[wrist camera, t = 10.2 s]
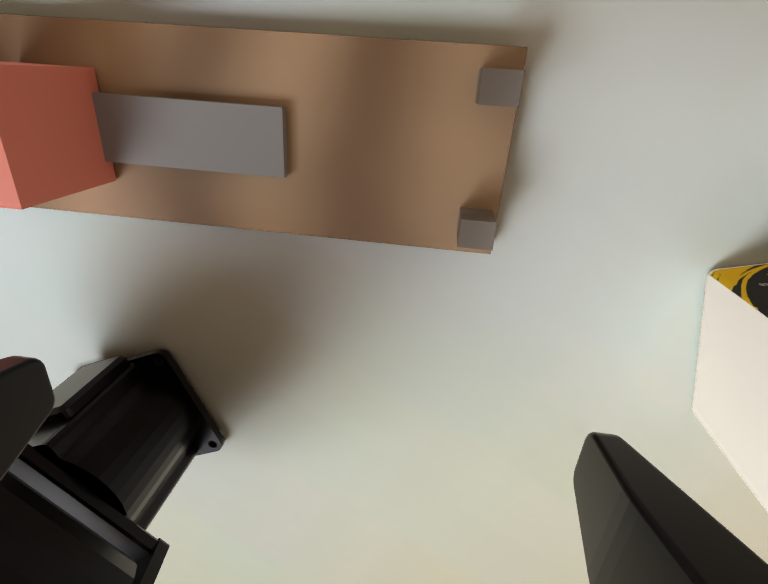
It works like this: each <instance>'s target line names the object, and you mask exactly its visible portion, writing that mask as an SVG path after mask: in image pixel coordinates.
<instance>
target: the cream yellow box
mask: <svg viewBox="0 0 768 584" xmlns="http://www.w3.org/2000/svg"><path fill="white" fill-rule="evenodd" d="M692 410H693V413H694V415H695V416H696V417H697V419H698V420H699V421H700V423H701V424H702V426H703V427H704V428H705V430H706V431H707V432H708V434H709V435H710V436H711V438H712V439H713V440H714V442H715V443H716V444H717V446H718V447H719V448H720V450H721V451H722V452H723V454H724V455H725V456H726V458H727V459H728V460H729V462H730V463H731V464H732V466H733V467H734V468H735V470H736V471H737V472H738V474H739V475H740V476H741V478H742V479H743V480H744V482H745V483H746V484H747V486H748V487H749V488H750V490H751V491H752V492H753V494H754V495H755V496H756V498H757V499H758V500H759V502H760V503H761V504H762V506H763V507H764V508H765V510H766V511H767V512H768V263H763V264H754V265H746V266H737V267H728V268H720V269H715V270H712V271H711V272H709V273H708V275H707V277H706V285H705V294H704V303H703V312H702V321H701V330H700V339H699V348H698V357H697V365H696V374H695V383H694V392H693V401H692Z"/></svg>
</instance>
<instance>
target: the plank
mask: <svg viewBox="0 0 768 584" xmlns="http://www.w3.org/2000/svg"><path fill="white" fill-rule="evenodd" d="M526 53H527V47H515V46H499V45H484V44H468V43H452V42H437V41H421V40H406V39H390V38H374V37H359V36H343V35H327V34H312V33H296V32H280V31H265V30H249V29H233V28H218V27H202V26H187V25H171V24H155V23H140V22H124V21H108V20H93V19H77V18H61V17H46V16H30V15H15V14H0V61H4V62H23V63H37V64H50V65H64V66H77V67H91V68H94V69H95V74H96V79H97V84H98V89H99V92H102V93H115V94H128V95H141V96H154V97H166V98H179V99H192V100H205V101H218V102H230V103H243V104H256V105H269V106H282V107H286V132H287V165H288V176H287V177H285V178H280V177H269V176H258V175H247V174H236V173H225V172H214V171H203V170H192V169H181V168H170V167H159V166H149V165H138V164H127V163H116V162H113V166H114V171H115V176H116V181H114V182H110V183H107V184H104V185H100V186H97V187H94V188H91V189H87V190H84V191H81V192H78V193H74V194H71V195H68V196H64V197H61V198H58V199H55V200H51V201H48V202H45V203H42V204H38V205H35V206H32V207H35V208H45V209H54V210H64V211H74V212H84V213H94V214H103V215H113V216H123V217H133V218H143V219H152V220H162V221H172V222H182V223H192V224H201V225H211V226H221V227H231V228H241V229H250V230H260V231H270V232H280V233H290V234H299V235H309V236H319V237H329V238H339V239H348V240H358V241H368V242H378V243H388V244H398V245H407V246H417V247H427V248H437V249H447V250H456V251H466V252H476V253H486V254H491V251H492V249H493V244H494V238H495V233H496V227H497V221H496V220H497V215H498V209H499V203H500V198H501V192H502V187H503V181H504V176H505V170H506V164H507V159H508V153H509V148H510V142H511V137H512V131H513V125H514V120H515V114H516V109H517V107H518V106H519V100H520V94H521V89H522V83H523V78H524V72H525V70H524V64H525V59H526Z"/></svg>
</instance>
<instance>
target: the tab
mask: <svg viewBox="0 0 768 584" xmlns="http://www.w3.org/2000/svg"><path fill="white" fill-rule="evenodd" d="M113 162H116V163H127V164H138V165H149V166H159V167H170V168H181V169H192V170H203V171H214V172H225V173H236V174H247V175H258V176H269V177H280V178H285V177H287V176H288V165H287V132H286V107H282V106H269V105H256V104H243V103H230V102H218V101H205V100H192V99H179V98H166V97H154V96H141V95H128V94H115V93H102V92H99V89H98V84H97V79H96V74H95V69H94V68H91V67H77V66H64V65H50V64H37V63H23V62H4V61H0V207H2V208H12V209H25V208H29V207H32V206H35V205H38V204H42V203H45V202H48V201H51V200H55V199H58V198H61V197H64V196H68V195H71V194H74V193H78V192H81V191H84V190H87V189H91V188H94V187H97V186H100V185H104V184H107V183H110V182H114V181H116V176H115V171H114V166H113Z"/></svg>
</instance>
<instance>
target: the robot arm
mask: <svg viewBox="0 0 768 584" xmlns="http://www.w3.org/2000/svg"><path fill="white" fill-rule="evenodd" d="M159 358H160V359H162V360H163V361H161V360H160V359H159ZM224 442H225V439H224V437H223V435H222V434H221V432H220V431H219V429H218V428H217V426H216V424H215V423H214V421H213V420H212V418H211V417H210V415H209V414H208V412H207V410H206V409H205V407H204V406H203V404H202V403H201V401H200V399H199V398H198V396H197V395H196V393H195V392H194V390H193V388H192V387H191V385H190V384H189V382H188V381H187V379H186V377H185V376H184V374H183V373H182V371H181V370H180V368H179V366H178V365H177V363H176V362H175V360H174V359H173V357H172V355H171V354H170V353H169V352H168V351H166V350H164V349H157V350H153V351H150V352H146V353H143V354H139V355H136V356H132V357H129V358H126V357H125V356H116V357H113V358H109V359H106V360H102V361H99V362H96V363H92V364H89V365H85V366H83V367H81V368H80V369H79V370H78V371H76V372H75V373H74V374H72V375H71V376H70V377H69V378H67V379H66V380H65V381H64V382H62V383H61V384H60V385H59V386H57V387H56V388H55V389H54V390H52V387H51V383H50V380H49V377H48V374H47V371H46V368H45V366H44V364H43V363H42V362H41V361H40V360H38V359H36V358H30V357H22V356H11V357H7V358H3V359H0V584H154V582H155V579H156V577H157V575H158V572H159V570H160V568H161V565H162V563H163V560H164V558H165V556H166V553H167V551H168V549H169V546H170V545H169V544H167V543H166V542H165V541H163V540H162V539H161V538H159V539H156V538H155V537H154V536H152V535H151V534H150V533H148V532H147V531H146V529H147V528H148V526H149V525H150V523H151V522H152V520H153V519H154V517H155V516H156V514H157V513H158V511H159V510H160V508H161V507H162V505H163V503H164V502H165V500H166V499H167V497H168V496H169V494H170V493H171V491H172V490H173V488H174V487H175V485H176V484H177V482H178V481H179V479H180V478H181V476H182V475H183V473H184V472H185V470H186V469H187V467H188V466H189V464H190V463H191V461H192V460H193V458H194V457H195V456H196V455H201V454H206V453H210V452H215V451H218V450H220V449H221V447H222V446H223V444H224ZM574 490H575V496H576V503H577V509H578V515H579V522H580V528H581V534H582V540H583V547H584V553H585V559H586V565H587V572H588V577H589V582H590V584H768V564H767V563H766V562H765V561H763V560H762V559H761V558H760V557H759V556H758V555H756V554H755V553H754V552H753V551H752V550H751V549H750V548H748V547H747V546H746V545H745V544H744V543H743V542H741V541H740V540H739V539H738V538H737V537H736V536H734V535H733V534H732V533H731V532H730V531H729V530H728V529H726V528H725V527H724V526H723V525H722V524H721V523H719V522H718V521H717V520H716V519H715V518H714V517H712V516H711V515H710V514H709V513H708V512H707V511H706V510H704V509H703V508H702V507H701V506H700V505H699V504H697V503H696V502H695V501H694V500H693V499H692V498H690V497H689V496H688V495H687V494H686V493H685V492H683V491H682V490H681V489H680V488H679V487H678V486H677V485H675V484H674V483H673V482H672V481H671V480H670V479H668V478H667V477H666V476H665V475H664V474H663V473H661V472H660V471H659V470H658V469H657V468H656V467H655V466H653V465H652V464H651V463H650V462H649V461H648V460H646V459H645V458H644V457H643V456H642V455H641V454H639V453H638V452H637V451H636V450H635V449H634V448H633V447H631V446H630V445H629V444H628V443H627V442H626V441H624V440H623V439H622V438H621V437H619V436H617V435H613V434H605V433H597V432H592V433H590V434H588V436H587V437H586V439H585V441H584V444H583V447H582V450H581V453H580V456H579V459H578V462H577V465H576V467H575V471H574Z"/></svg>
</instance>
